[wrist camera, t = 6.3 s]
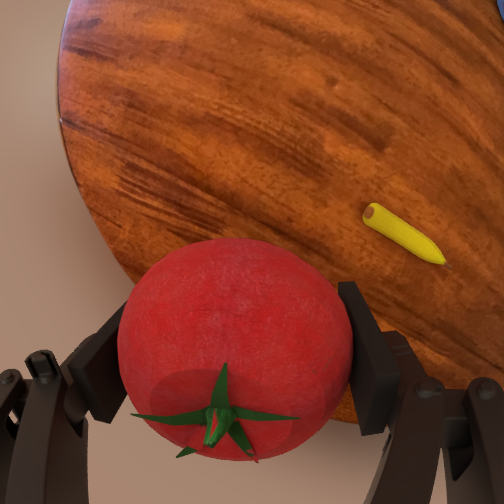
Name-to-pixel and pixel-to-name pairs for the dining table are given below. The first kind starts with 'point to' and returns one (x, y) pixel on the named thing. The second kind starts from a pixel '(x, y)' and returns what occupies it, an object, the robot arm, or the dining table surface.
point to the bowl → (501, 7)
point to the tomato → (235, 349)
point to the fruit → (403, 234)
